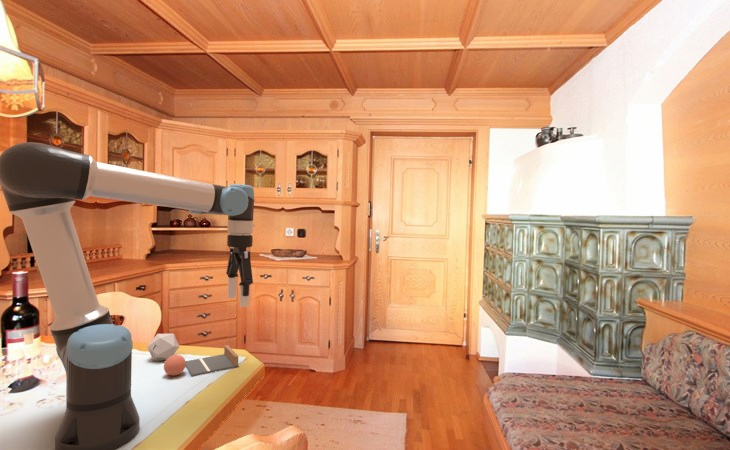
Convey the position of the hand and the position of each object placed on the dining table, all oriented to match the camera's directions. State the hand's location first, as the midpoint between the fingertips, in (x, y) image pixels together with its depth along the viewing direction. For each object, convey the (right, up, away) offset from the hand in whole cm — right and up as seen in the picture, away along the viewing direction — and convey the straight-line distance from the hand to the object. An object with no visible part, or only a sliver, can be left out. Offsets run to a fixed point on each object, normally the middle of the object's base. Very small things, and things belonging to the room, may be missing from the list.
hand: (237, 301), depth 118 cm
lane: (-10, -22, +5) cm, 24 cm away
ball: (-18, -22, -3) cm, 28 cm away
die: (-28, -21, +9) cm, 37 cm away
